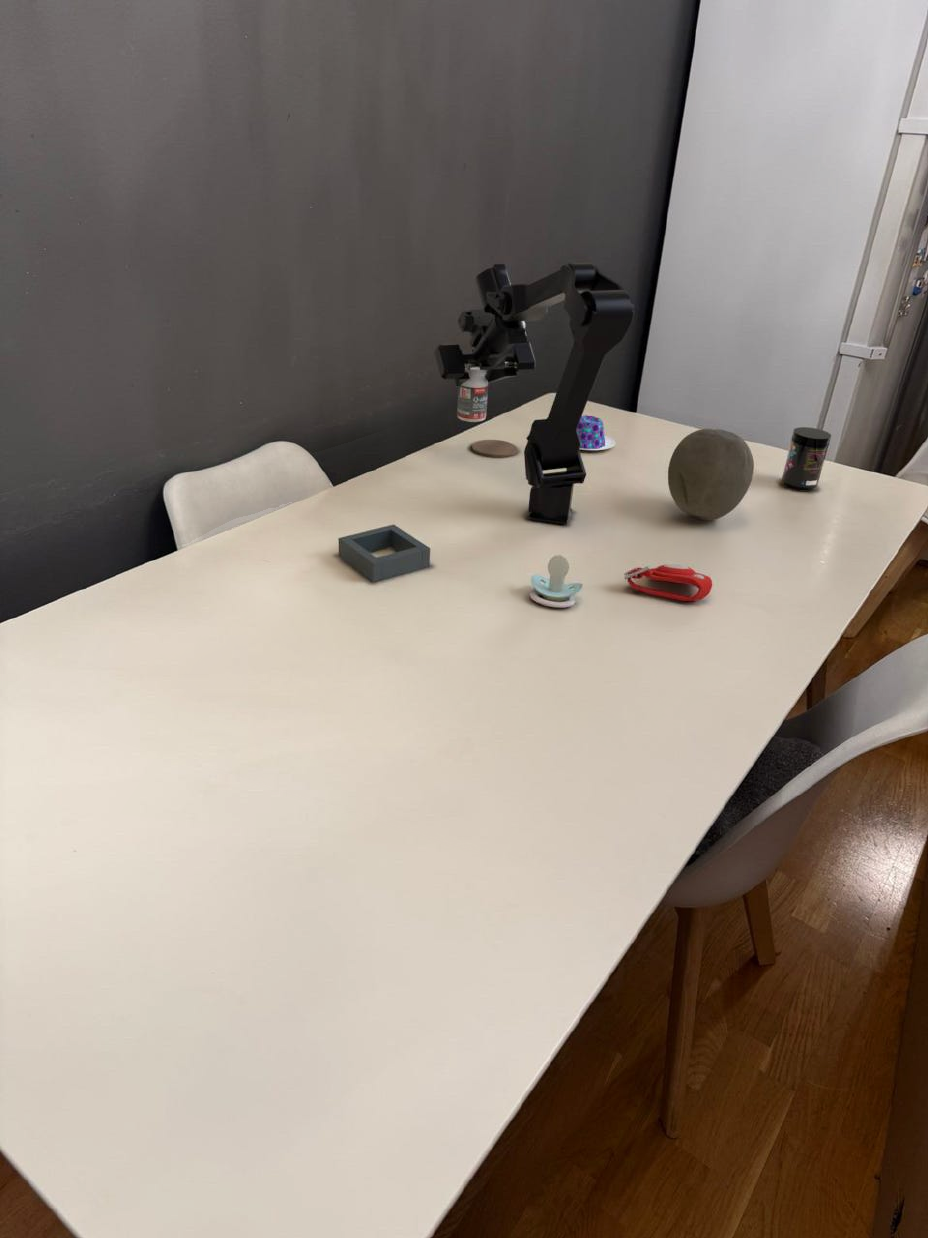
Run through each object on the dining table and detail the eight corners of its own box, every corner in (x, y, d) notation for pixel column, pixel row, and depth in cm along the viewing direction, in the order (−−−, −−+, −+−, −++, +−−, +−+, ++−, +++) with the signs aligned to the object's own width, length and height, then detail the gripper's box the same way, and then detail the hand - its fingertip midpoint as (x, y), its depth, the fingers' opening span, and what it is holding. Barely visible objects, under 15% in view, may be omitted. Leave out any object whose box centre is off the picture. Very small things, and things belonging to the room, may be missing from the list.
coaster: (520, 445, 180) (520, 443, 180) (512, 459, 172) (512, 457, 172) (477, 439, 182) (478, 437, 181) (467, 453, 174) (467, 451, 174)
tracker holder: (670, 560, 134) (726, 570, 127) (666, 589, 135) (722, 600, 128) (617, 561, 127) (674, 572, 119) (614, 592, 127) (670, 604, 120)
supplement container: (798, 477, 173) (812, 425, 168) (824, 489, 168) (839, 436, 162) (772, 481, 170) (785, 428, 165) (798, 494, 165) (812, 440, 160)
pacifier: (573, 615, 121) (583, 594, 126) (578, 575, 117) (588, 555, 122) (522, 603, 123) (534, 584, 128) (525, 564, 119) (538, 545, 124)
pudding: (554, 449, 179) (557, 424, 176) (558, 431, 189) (561, 407, 186) (614, 456, 177) (617, 431, 175) (615, 437, 188) (618, 413, 185)
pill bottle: (476, 424, 169) (479, 372, 164) (451, 418, 171) (453, 366, 166) (491, 417, 173) (494, 366, 168) (466, 412, 175) (469, 361, 171)
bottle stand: (393, 541, 137) (393, 524, 136) (429, 566, 131) (430, 548, 129) (338, 556, 132) (338, 537, 130) (373, 582, 125) (373, 563, 124)
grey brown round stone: (752, 534, 148) (773, 448, 140) (668, 529, 147) (684, 443, 140) (731, 501, 160) (749, 420, 152) (653, 497, 159) (668, 416, 152)
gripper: (534, 295, 161) (503, 343, 175) (440, 297, 154) (415, 347, 168) (551, 349, 159) (518, 393, 173) (456, 354, 152) (429, 400, 166)
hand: (470, 382), depth 170 cm, fingers closed on pill bottle, 6 cm apart
